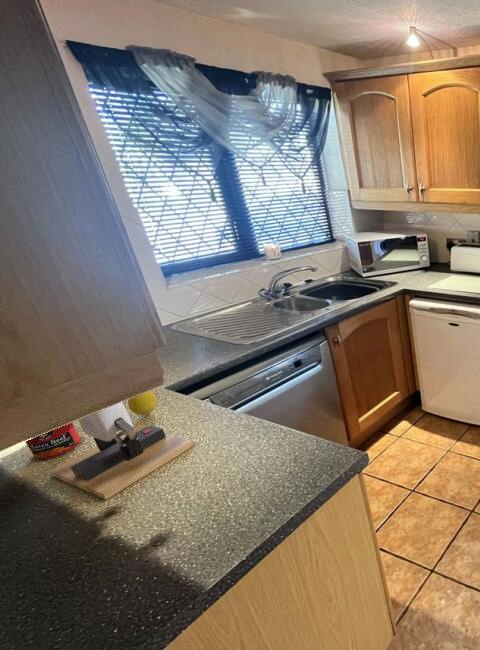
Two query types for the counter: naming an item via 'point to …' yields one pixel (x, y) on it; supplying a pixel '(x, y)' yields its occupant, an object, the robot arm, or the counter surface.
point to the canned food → (54, 442)
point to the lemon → (143, 403)
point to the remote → (114, 454)
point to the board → (124, 466)
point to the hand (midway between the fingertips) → (122, 451)
